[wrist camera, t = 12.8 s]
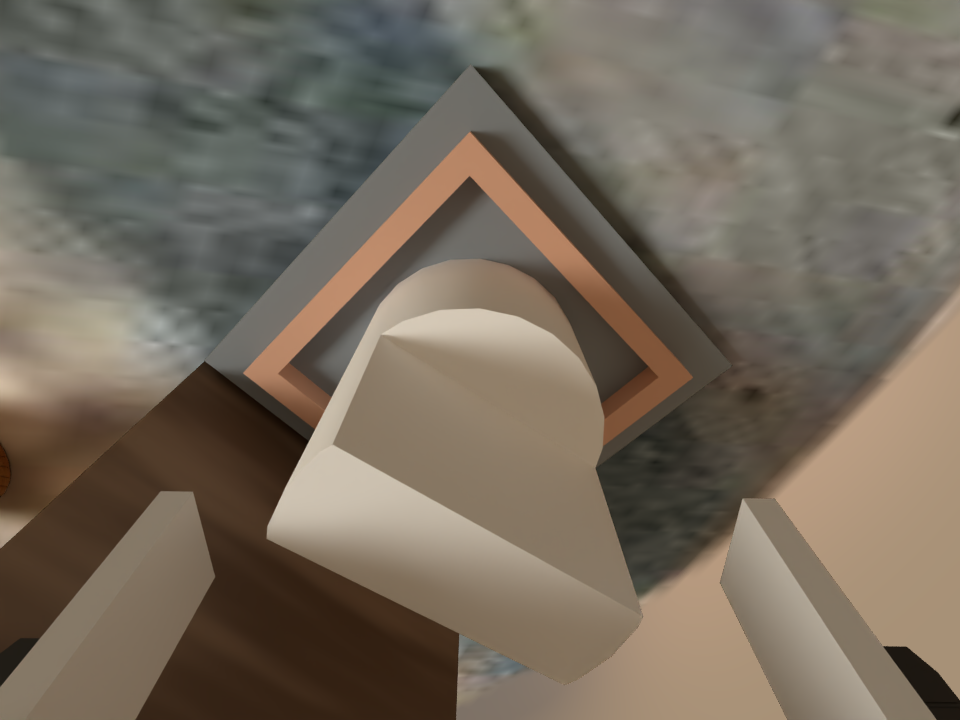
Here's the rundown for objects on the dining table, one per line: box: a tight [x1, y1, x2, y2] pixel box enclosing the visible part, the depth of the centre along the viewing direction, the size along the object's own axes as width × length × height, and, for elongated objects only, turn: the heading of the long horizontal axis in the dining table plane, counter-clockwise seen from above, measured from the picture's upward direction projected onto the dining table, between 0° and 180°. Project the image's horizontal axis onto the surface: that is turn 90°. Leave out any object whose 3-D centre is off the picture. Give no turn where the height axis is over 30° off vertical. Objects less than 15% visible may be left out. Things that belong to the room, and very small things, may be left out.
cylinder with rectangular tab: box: [266, 259, 643, 685], centre depth 18 cm, size 9×9×12 cm
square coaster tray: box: [204, 64, 732, 468], centre depth 24 cm, size 16×16×2 cm
